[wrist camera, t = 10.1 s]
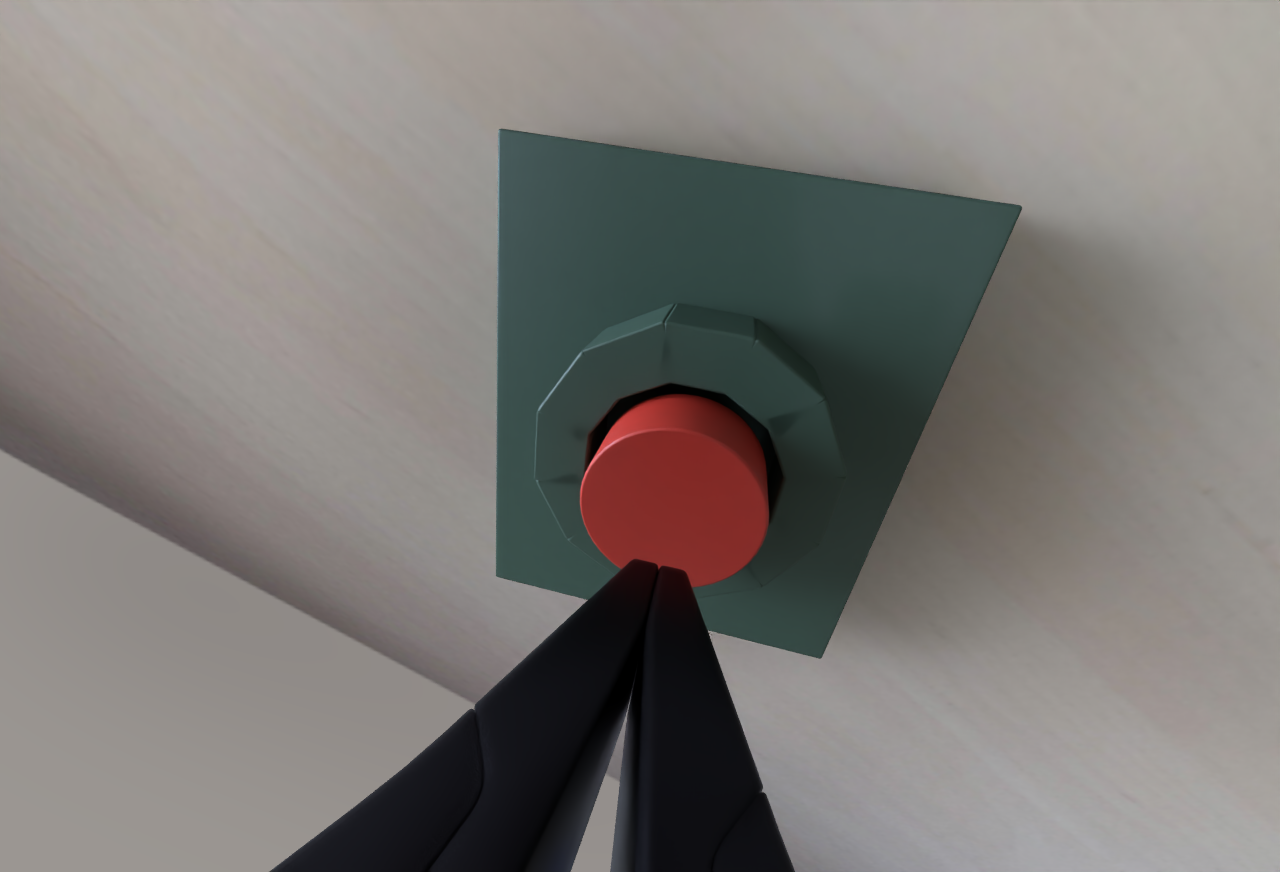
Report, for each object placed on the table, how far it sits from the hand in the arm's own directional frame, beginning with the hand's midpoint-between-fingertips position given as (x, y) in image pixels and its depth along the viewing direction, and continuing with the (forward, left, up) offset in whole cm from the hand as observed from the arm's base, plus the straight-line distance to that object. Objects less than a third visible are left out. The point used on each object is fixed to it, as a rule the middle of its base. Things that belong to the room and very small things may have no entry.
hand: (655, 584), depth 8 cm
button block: (0, 0, -7) cm, 7 cm away
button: (0, 0, -4) cm, 4 cm away
